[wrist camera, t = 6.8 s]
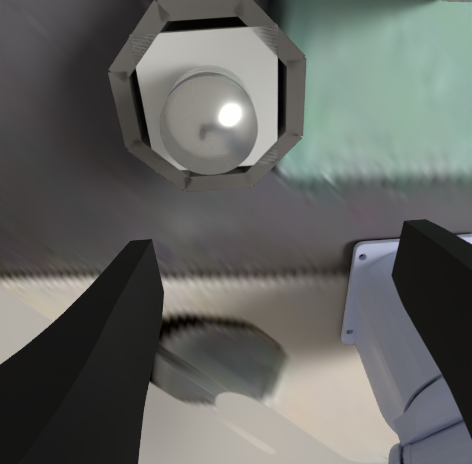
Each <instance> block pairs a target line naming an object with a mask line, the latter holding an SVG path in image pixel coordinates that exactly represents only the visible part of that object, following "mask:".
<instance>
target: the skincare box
mask: <svg viewBox="0 0 472 464" xmlns="http://www.w3.org/2000/svg"><path fill="white" fill-rule="evenodd" d="M442 1H447V2H472V0H442Z"/></svg>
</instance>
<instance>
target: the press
mask: <svg viewBox="0 0 472 464" xmlns="http://www.w3.org/2000/svg"><path fill="white" fill-rule="evenodd" d="M199 66H218V67H222V68H225V69H227V70H229V71H231V72H232V73H234V74H235V75H237V76H238V77H239V78H240V79H241V80H242V81H243V82H244V84H245V85H246V87H247V88H248V90H249V92H250V95H251V98H252V101H253V105H254V109H255V112H256V116H257V122H258V134H257V139H256V142H255V145H254V148H253V150H252V151H251V153H250V155H249V156H248V157H247V158H246V160H245V161H244V162H242V163H241V164H240V165H239V166H237V167H236V168H234V169H232V170H230V171H228V172H225V173H221V174H215V175H205V174H199V173H195V172H192V171H190V170H188V169H186V168H184V167H182V166H181V165H179V164H178V163H177V162H176V161H175V160H174V159H173V158H172V157H171V156H170V155H169V153H168V152H167V150H166V148H165V147H164V145H163V142H162V139H161V135H160V129H159V120H160V114H161V111H162V108H163V106H164V103H165V101H166V99H167V97H168V95H169V93H170V90H171V88H172V86H173V85H174V83H175V82H176V81H177V80H178V78H179V77H180V76H182V75H183V74H184V73H186V72H187V71H189V70H191V69H193V68H196V67H199ZM108 70H110V71H109V72H108V75H109V80H110V84H111V88H112V92H113V97H114V101H115V105H116V109H117V114H118V118H119V122H120V126H121V130H122V135H123V139H124V143H125V147H126V148H128V150H127V151H129V152H130V153H132V154H133V155H134V156H136V157H137V158H139V159H140V160H141V161H143V162H144V163H145V164H147V165H148V166H150V167H151V168H152V169H154V170H155V171H156V172H158V173H159V174H161V175H162V176H163V177H165V178H166V179H168V180H169V181H170V182H172V183H173V184H175V185H176V186H177V187H179V188H180V189H181V190H183V191H184V190H185V189H186V192H191V191H205V190H220V189H234V188H249V187H251V185H253V186H254V185H255V184H256V183H257V182H258V181H259V180H260V179H261V178H262V177H263V176H264V175H265V174H266V173H267V172H268V171H269V170H270V169H271V168H272V167H274V166H275V165H276V164H277V163H278V162H279V161H280V160H281V159H282V158H283V157H284V156H285V155H286V154H287V153H288V152H289V151H290V150H291V149H292V148H293V147H294V146H295V145H296V144H297V143H298V142H299V141H300V140H301V139H302V138H301V136H303V123H304V100H305V77H306V58H305V55H304V54H303V53H302V52H301V51H300V50H299V49H298V47H297V46H296V45H295V44H294V43H293V42H292V41H291V40H290V39H289V38H288V37H287V36H286V35H285V34H284V32H283V31H282V30H281V29H280V28H279V27H278V25H277V24H275V23H274V22H273V21H272V20H271V18H270V17H269V16H268V15H267V14H266V13H265V12H264V11H263V10H262V9H261V8H260V7H259V6H258V5H257V3H256V2H255V1H254V0H153V2H152V3H151V5H150V7H149V8H148V10H147V11H146V13H145V14H144V16H143V17H142V19H141V20H140V22H139V23H138V25H137V26H136V28H135V29H134V31H133V33H132V34H131V35H130V37H129V39H128V40H127V42H126V43H125V45H124V46H123V48H122V49H121V51H120V52H119V54H118V56H117V57H116V59H115V60H114V62H113V63H112V65H111V66H110V68H109V69H108Z"/></svg>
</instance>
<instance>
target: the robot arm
mask: <svg viewBox="0 0 472 464" xmlns="http://www.w3.org/2000/svg"><path fill="white" fill-rule="evenodd" d="M361 254H364V255H363V256H361V257H359V256H360V255H361ZM163 299H164V290H163V286H162V281H161V277H160V273H159V268H158V264H157V260H156V255H155V251H154V247H153V242H152V239H148V240H134V241H130V242H129V243H128V244H127V245H126V246H125V247H124V249H123V250H122V251H121V252H120V253H119V254H118V255H117V257H116V258H115V259H114V260H113V261H112V262H111V263H110V265H109V266H108V267H107V268H106V269H105V270H104V271H103V273H102V274H101V275H100V276H99V277H98V278H97V279H96V280H95V281H94V282H93V283H92V285H91V286H90V287H89V288H88V289H87V290H86V291H85V292H84V293H83V294H82V295H81V296H80V297H79V298H78V299H77V300H76V301H75V302H74V303H73V304H72V305H71V306H70V307H69V308H68V309H67V310H66V311H65V312H64V313H63V314H62V315H61V316H60V317H59V318H58V319H56V320H55V321H54V322H53V323H52V324H51V325H50V326H49V327H48V328H46V329H45V330H44V331H43V332H42V333H40V334H39V335H38V336H37V337H36V338H34V339H33V340H32V341H31V342H30V343H28V344H27V345H26V346H25V347H23V348H22V349H21V350H19V351H18V352H17V353H15V354H14V355H13V356H11V357H10V358H9V359H7V360H6V361H5V362H3V363H2V364H0V464H138V459H139V448H140V439H141V430H142V420H143V412H144V406H145V400H146V395H147V390H148V385H149V380H150V376H151V371H152V366H153V362H154V357H155V352H156V348H157V343H158V338H159V333H160V328H161V323H162V312H163ZM341 341H342V343H343V344H345V345H353V344H356V347H357V350H358V353H359V355H360V358H361V361H362V363H363V366H364V369H365V371H366V374H367V377H368V379H369V382H370V385H371V387H372V390H373V393H374V395H375V398H376V401H377V404H378V406H379V409H380V411H381V413H382V415H383V418H384V419H385V421H386V422H387V424H388V425H389V426H390V427H391V429H392V430H393V431H394V432H395V433H396V434H397V435H398V437H399V440H400V443H398V444H396V445H394V446H393V447H392V448H391V450H390V453H389V463H388V464H472V234H463V235H455V234H453V233H451V232H449V231H448V230H446V229H444V228H442V227H440V226H438V225H436V224H434V223H432V222H430V221H428V220H426V219H424V220H410V221H404V223H403V228H402V232H401V236H400V239H389V240H375V241H362V242H359V243H357V244H356V245H355V247H354V251H353V258H352V264H351V271H350V278H349V284H348V291H347V298H346V305H345V311H344V318H343V325H342V332H341Z"/></svg>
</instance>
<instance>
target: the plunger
mask: <svg viewBox="0 0 472 464" xmlns="http://www.w3.org/2000/svg"><path fill="white" fill-rule="evenodd" d="M159 129H160V135H161V139H162V142H163V145H164V147H165V148H166V150H167V152H168V153H169V155H170V156H171V157H172V158H173V159H174V160H175V161H176V162H177V163H178V164H179V165H181V166H182V167H184V168H186V169H188V170H190V171H192V172H195V173H199V174H205V175H215V174H221V173H225V172H228V171H230V170H232V169H234V168H236V167H237V166H239V165H240V164H241V163H242V162H244V161H245V160H246V158H247V157H248V156H249V155H250V153H251V151H252V150H253V148H254V145H255V142H256V139H257V134H258V122H257V116H256V112H255V109H254V105H253V101H252V98H251V95H250V92H249V90H248V88H247V87H246V85H245V84H244V82H243V81H242V80H241V79H240V78H239V77H238V76H237V75H235V74H234V73H232V72H231V71H229V70H227V69H225V68H222V67H218V66H199V67H196V68H193V69H191V70H189V71H187V72H186V73H184V74H183V75H182V76H180V77H179V78H178V80H177V81H176V82H175V83H174V85H173V86H172V88H171V90H170V93H169V95H168V97H167V99H166V101H165V103H164V106H163V108H162V111H161V114H160V120H159Z"/></svg>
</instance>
